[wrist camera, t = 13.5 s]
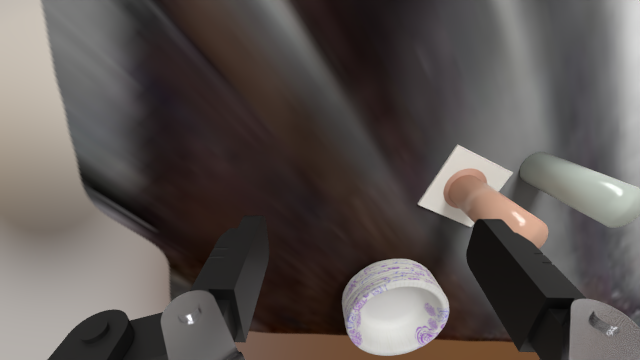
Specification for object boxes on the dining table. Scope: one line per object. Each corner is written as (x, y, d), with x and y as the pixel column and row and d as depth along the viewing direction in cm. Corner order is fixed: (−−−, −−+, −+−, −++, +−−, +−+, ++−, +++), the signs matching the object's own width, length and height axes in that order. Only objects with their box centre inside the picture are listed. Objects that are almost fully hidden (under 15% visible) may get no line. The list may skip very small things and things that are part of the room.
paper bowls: (422, 311, 51) (443, 353, 43) (339, 318, 50) (346, 363, 43) (433, 241, 45) (459, 276, 37) (338, 248, 44) (345, 286, 37)
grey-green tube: (535, 146, 39) (627, 180, 28) (559, 159, 40) (656, 197, 29) (512, 175, 41) (591, 218, 30) (536, 187, 42) (621, 233, 31)
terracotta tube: (462, 169, 39) (524, 212, 29) (487, 182, 41) (557, 228, 30) (442, 197, 41) (493, 248, 30) (467, 209, 42) (526, 262, 31)
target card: (457, 144, 38) (458, 145, 38) (511, 171, 41) (513, 172, 40) (417, 203, 42) (418, 205, 41) (469, 226, 44) (471, 227, 44)
